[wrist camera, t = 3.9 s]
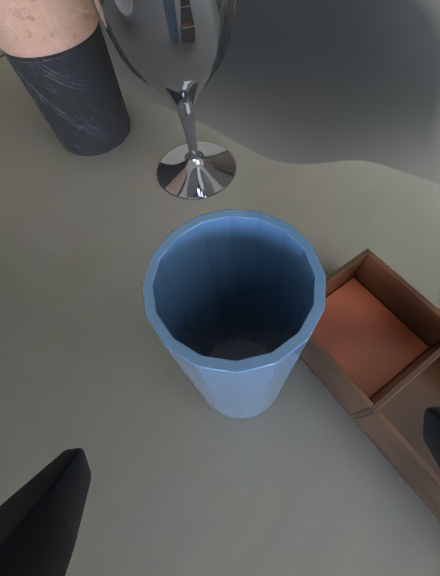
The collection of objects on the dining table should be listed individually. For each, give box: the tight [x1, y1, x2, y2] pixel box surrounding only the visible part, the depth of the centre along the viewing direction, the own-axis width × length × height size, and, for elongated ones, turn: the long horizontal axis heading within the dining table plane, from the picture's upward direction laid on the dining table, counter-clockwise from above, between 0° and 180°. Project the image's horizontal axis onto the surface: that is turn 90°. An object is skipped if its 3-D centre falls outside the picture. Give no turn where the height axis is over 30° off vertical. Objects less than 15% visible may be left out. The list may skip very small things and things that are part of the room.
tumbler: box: [142, 209, 326, 419], centre depth 14 cm, size 5×5×12 cm
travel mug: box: [0, 0, 130, 155], centre depth 23 cm, size 8×8×20 cm
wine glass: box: [94, 0, 236, 199], centre depth 22 cm, size 8×8×15 cm
